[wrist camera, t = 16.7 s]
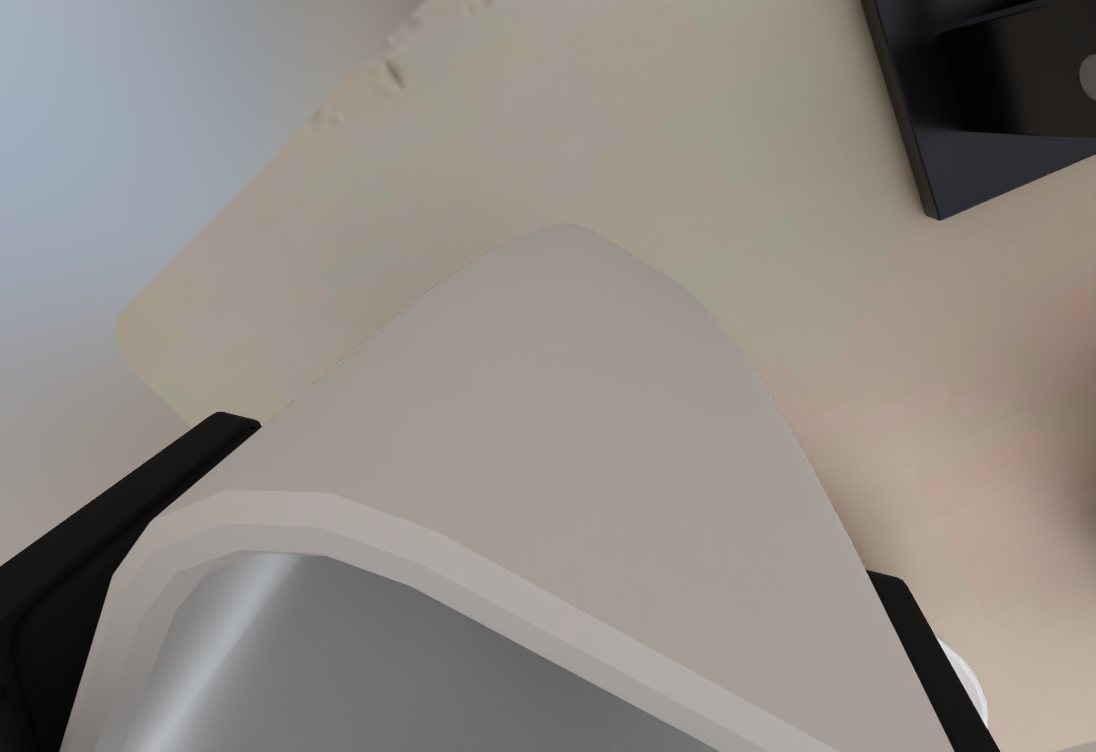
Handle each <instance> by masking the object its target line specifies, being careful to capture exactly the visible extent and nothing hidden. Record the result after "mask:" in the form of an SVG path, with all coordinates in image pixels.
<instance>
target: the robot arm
mask: <svg viewBox="0 0 1096 752" xmlns="http://www.w3.org/2000/svg"><path fill="white" fill-rule="evenodd" d="M261 427H262V426H261V424H260V422H258V421H257V420H254V419H250V418H246V417H242V416H238V415H233V414H229V413H225V412H216V413H214V414H212V415H211V416H209V417H208V418H206V419H205V420H204V421H202V422H201V423H199V424H198V425H197V426H195V427H194V428H193V429H191V430H190V431H188V432H187V433H186V434H184V435H183V436H181V437H180V438H179V439H177V440H176V441H174V442H173V443H172V444H170V445H169V446H167V447H166V448H165V449H163V450H162V451H161V452H159V453H158V454H156V455H155V456H154V457H152V458H151V459H149V460H148V461H147V462H145V463H144V464H142V465H141V466H140V467H138V468H137V469H135V470H134V471H133V472H132V473H130V474H129V475H127V476H126V477H124V478H123V479H122V480H120V481H119V482H118V483H116V484H115V485H113V486H112V487H111V488H109V489H108V490H106V491H105V492H103V493H102V494H101V495H99V496H98V497H96V498H95V499H94V500H92V501H91V502H90V503H88V504H87V505H85V506H84V507H83V508H81V509H80V510H78V511H77V512H76V513H74V514H73V515H71V516H70V517H69V518H67V519H66V520H65V521H63V522H62V523H60V524H59V525H57V526H56V527H55V528H53V529H52V530H51V531H49V532H48V533H46V534H45V535H44V536H42V537H41V538H39V539H38V540H37V541H35V542H34V543H32V544H31V545H30V546H28V547H27V548H25V549H24V550H23V551H22V552H20V553H19V554H17V555H16V556H15V557H13V558H12V559H10V560H9V561H7V562H6V563H5V564H3V565H2V566H0V752H59V751H60V748H61V744H62V741H63V738H64V735H65V731H66V728H67V725H68V721H69V718H70V715H71V711H72V708H73V705H74V701H75V698H76V695H77V691H78V688H79V685H80V682H81V678H82V675H83V672H84V668H85V665H86V662H87V658H88V655H89V652H90V648H91V645H92V642H93V638H94V635H95V632H96V628H97V625H98V622H99V619H100V615H101V612H102V609H103V605H104V602H105V599H106V595H107V592H108V589H109V585H110V582H111V579H112V575H113V574H114V573H115V571H116V570H117V568H118V567H119V565H120V564H121V563H122V561H123V560H124V558H125V557H126V556H127V554H128V553H129V551H130V550H131V549H132V547H133V546H134V544H135V543H136V541H137V540H138V539H139V537H140V536H141V534H142V533H143V532H144V530H145V529H146V527H147V526H148V524H149V523H150V522H151V521H152V520H153V519H154V518H155V517H156V516H158V515H159V514H160V513H161V512H162V511H163V510H165V509H166V508H167V507H168V506H169V505H171V504H172V503H173V502H174V501H175V500H176V499H178V498H179V497H180V496H181V495H182V494H183V493H185V492H186V491H187V490H188V489H189V488H191V487H192V486H193V485H194V484H195V483H196V482H198V481H199V480H200V479H201V478H202V477H204V476H205V475H206V474H207V473H208V472H209V471H211V470H212V469H213V468H214V467H215V466H217V465H218V464H219V463H220V462H221V461H222V460H224V459H225V458H226V457H227V456H228V455H230V454H231V453H232V452H233V451H234V450H235V449H237V448H238V447H239V446H240V445H241V444H243V443H244V442H245V441H246V440H247V439H248V438H250V437H251V436H252V435H253V434H254V433H256V432H257V431H258V430H259V429H260V428H261ZM866 572H867V574H868V576H869V578H870V580H871V582H872V584H873V586H874V588H875V590H876V592H877V594H878V596H879V599H880V601H881V603H882V605H883V607H884V609H885V611H886V613H887V615H888V617H889V619H890V621H891V623H892V625H893V627H894V629H895V631H896V633H897V635H898V637H899V639H900V641H901V643H902V646H903V648H904V650H905V652H906V654H907V656H908V658H909V660H910V662H911V664H912V666H913V668H914V670H915V672H916V674H917V676H918V678H919V680H920V682H921V684H922V686H923V688H924V691H925V693H926V695H927V697H928V699H929V701H930V703H931V705H932V707H933V709H934V711H935V713H936V715H937V717H938V719H939V721H940V723H941V725H942V727H943V729H944V731H945V733H946V735H947V738H948V740H949V742H950V744H951V746H952V748H953V750H954V752H1000V750H999V749H998V747H997V745H996V743H995V741H994V740H993V738H992V736H991V734H990V733H989V731H988V729H987V727H986V725H985V724H984V722H983V720H982V718H981V717H980V715H979V713H978V711H977V709H976V708H975V706H974V704H973V702H972V700H971V699H970V697H969V695H968V693H967V692H966V690H965V688H964V686H963V684H962V683H961V681H960V679H959V677H958V676H957V674H956V672H955V670H954V668H953V667H952V665H951V663H950V661H949V660H948V658H947V656H946V654H945V652H944V651H943V649H942V647H941V645H940V644H939V642H938V640H937V638H936V636H935V635H934V633H933V631H932V629H931V628H930V626H929V624H928V622H927V620H926V619H925V617H924V615H923V613H922V611H921V610H920V608H919V606H918V604H917V603H916V601H915V599H914V597H913V595H912V594H911V592H910V590H909V588H908V587H907V585H906V584H905V583H904V581H903V580H901V579H899V578H897V577H893V576H889V575H885V574H881V573H877V572H873V571H869V570H866Z"/></svg>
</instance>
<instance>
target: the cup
mask: <svg viewBox="0 0 1096 752" xmlns="http://www.w3.org/2000/svg"><path fill="white" fill-rule="evenodd" d="M59 752H954V750H953V748H952V746H951V744H950V742H949V740H948V738H947V735H946V733H945V731H944V729H943V727H942V725H941V723H940V721H939V719H938V717H937V715H936V713H935V711H934V709H933V707H932V705H931V703H930V701H929V699H928V697H927V695H926V693H925V691H924V688H923V686H922V684H921V682H920V680H919V678H918V676H917V674H916V672H915V670H914V668H913V666H912V664H911V662H910V660H909V658H908V656H907V654H906V652H905V650H904V648H903V646H902V643H901V641H900V639H899V637H898V635H897V633H896V631H895V629H894V627H893V625H892V623H891V621H890V619H889V617H888V615H887V613H886V611H885V609H884V607H883V605H882V603H881V601H880V599H879V596H878V594H877V592H876V590H875V588H874V586H873V584H872V582H871V580H870V578H869V576H868V574H867V572H866V570H865V568H864V566H863V564H862V562H861V560H860V558H859V556H858V554H857V552H856V549H855V547H854V545H853V543H852V541H851V539H850V537H849V535H848V534H847V532H846V530H845V528H844V526H843V524H842V522H841V520H840V519H839V517H838V515H837V513H836V511H835V509H834V507H833V506H832V504H831V502H830V500H829V498H828V496H827V494H826V492H825V491H824V489H823V487H822V485H821V483H820V481H819V479H818V477H817V476H816V474H815V472H814V470H813V468H812V466H811V464H810V463H809V461H808V459H807V457H806V455H805V453H804V451H803V449H802V448H801V446H800V444H799V442H798V440H797V438H796V436H795V434H794V433H793V431H792V429H791V428H790V426H789V425H788V423H787V421H786V420H785V418H784V416H783V415H782V413H781V411H780V410H779V408H778V407H777V405H776V403H775V402H774V400H773V398H772V397H771V395H770V394H769V392H768V390H767V389H766V387H765V385H764V384H763V382H762V380H761V379H760V377H759V376H758V374H757V372H756V371H755V369H754V367H753V366H752V364H751V363H750V361H749V360H748V359H747V357H746V356H745V355H744V354H743V352H742V351H741V350H740V348H739V347H738V346H737V344H736V343H735V342H734V341H733V339H732V338H731V337H730V335H729V334H728V333H727V331H726V330H725V329H724V328H723V326H722V325H721V324H720V323H719V322H718V321H717V320H716V319H715V317H714V316H713V315H712V314H711V313H710V312H709V311H708V310H707V309H706V308H705V307H704V306H703V305H702V303H701V302H700V301H699V300H698V299H697V298H696V297H695V296H694V295H692V294H691V293H690V292H689V291H688V290H687V289H686V288H685V287H684V286H682V285H680V284H679V283H677V282H676V281H674V280H672V279H671V278H669V277H667V276H666V275H664V274H663V273H661V272H659V271H658V270H656V269H655V268H653V267H651V266H650V265H648V264H646V263H645V262H643V261H642V260H640V259H638V258H637V257H635V256H634V255H632V254H630V253H629V252H627V251H626V250H624V249H622V248H621V247H619V246H617V245H616V244H614V243H613V242H611V241H609V240H608V239H606V238H605V237H603V236H601V235H600V234H598V233H596V232H595V231H593V230H591V229H588V228H585V227H583V226H580V225H577V224H555V225H551V226H547V227H542V228H538V229H536V230H533V231H531V232H529V233H527V234H524V235H522V236H520V237H518V238H515V239H513V240H511V241H509V242H507V243H505V244H503V245H501V246H499V247H497V248H494V249H492V250H490V251H488V252H486V253H485V254H483V255H482V256H480V257H478V258H477V259H475V260H474V261H472V262H471V263H469V264H468V265H466V266H465V267H463V268H462V269H460V270H458V271H457V272H455V273H454V274H452V275H451V276H449V277H448V278H446V279H445V280H443V281H442V282H440V283H439V284H437V285H436V286H434V287H433V288H432V289H430V290H429V291H428V292H426V293H425V294H424V295H423V296H421V297H420V298H419V299H417V300H416V301H415V302H413V303H412V304H411V305H410V306H408V307H407V308H406V309H404V310H403V311H402V312H400V313H399V314H398V315H397V316H395V317H394V318H393V319H391V320H390V321H389V322H387V323H386V324H385V325H384V326H382V327H381V328H380V329H378V330H377V331H376V332H374V333H373V334H372V335H371V336H369V337H368V338H367V339H365V340H364V341H363V342H362V343H361V344H360V345H358V346H357V347H356V348H355V349H354V350H352V351H351V352H350V353H349V354H348V355H347V356H345V357H344V358H343V359H342V360H341V361H339V362H338V363H337V364H336V365H335V366H334V367H332V368H331V369H330V370H329V371H328V372H326V373H325V374H324V375H323V376H322V377H321V378H319V379H318V380H317V381H316V382H315V383H313V384H312V385H311V386H310V387H309V388H308V389H306V390H305V391H304V392H303V393H302V394H300V395H299V396H298V397H297V398H296V399H295V400H293V401H292V402H291V403H290V404H289V405H287V406H286V407H285V408H284V409H283V410H282V411H280V412H279V413H278V414H277V415H276V416H274V417H273V418H272V419H271V420H270V421H269V422H267V423H266V424H265V425H264V426H263V427H261V428H260V429H259V430H258V431H257V432H256V433H254V434H253V435H252V436H251V437H250V438H248V439H247V440H246V441H245V442H244V443H243V444H241V445H240V446H239V447H238V448H237V449H235V450H234V451H233V452H232V453H231V454H230V455H228V456H227V457H226V458H225V459H224V460H222V461H221V462H220V463H219V464H218V465H217V466H215V467H214V468H213V469H212V470H211V471H209V472H208V473H207V474H206V475H205V476H204V477H202V478H201V479H200V480H199V481H198V482H196V483H195V484H194V485H193V486H192V487H191V488H189V489H188V490H187V491H186V492H185V493H183V494H182V495H181V496H180V497H179V498H178V499H176V500H175V501H174V502H173V503H172V504H171V505H169V506H168V507H167V508H166V509H165V510H163V511H162V512H161V513H160V514H159V515H158V516H156V517H155V518H154V519H153V520H152V521H151V522H150V523H149V524H148V526H147V527H146V529H145V530H144V532H143V533H142V534H141V536H140V537H139V539H138V540H137V541H136V543H135V544H134V546H133V547H132V549H131V550H130V551H129V553H128V554H127V556H126V557H125V558H124V560H123V561H122V563H121V564H120V565H119V567H118V568H117V570H116V571H115V573H114V574H113V575H112V579H111V582H110V585H109V589H108V592H107V595H106V599H105V602H104V605H103V609H102V612H101V615H100V619H99V622H98V625H97V628H96V632H95V635H94V638H93V642H92V645H91V648H90V652H89V655H88V658H87V662H86V665H85V668H84V672H83V675H82V678H81V682H80V685H79V688H78V691H77V695H76V698H75V701H74V705H73V708H72V711H71V715H70V718H69V721H68V725H67V728H66V731H65V735H64V738H63V741H62V744H61V748H60V751H59Z"/></svg>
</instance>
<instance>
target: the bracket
mask: <svg viewBox="0 0 1096 752" xmlns="http://www.w3.org/2000/svg"><path fill="white" fill-rule="evenodd" d="M861 3H862V6H863V9H864V13H865V16H866V19H867V22H868V26H869V29H870V32H871V36H872V39H873V42H874V45H875V49H876V52H877V55H878V59H879V62H880V65H881V69H882V72H883V75H884V78H885V82H886V85H887V88H888V92H889V95H890V98H891V101H892V105H893V108H894V111H895V115H896V118H897V121H898V124H899V128H900V131H901V134H902V138H903V141H904V144H905V147H906V151H907V154H908V157H909V161H910V164H911V167H912V170H913V174H914V177H915V180H916V184H917V187H918V190H919V194H920V197H921V200H922V203H923V207H924V210H925V213H926V216H928V217H931V218H933V219H936V220H939V221H941V220H943V219H946V218H948V217H950V216H953V215H955V214H957V213H960V212H962V211H964V210H967V209H969V208H971V207H974V206H976V205H978V204H981V203H983V202H985V201H988V200H990V199H992V198H995V197H997V196H999V195H1002V194H1004V193H1006V192H1009V191H1011V190H1013V189H1016V188H1018V187H1020V186H1023V185H1025V184H1027V183H1030V182H1032V181H1034V180H1037V179H1039V178H1041V177H1044V176H1046V175H1048V174H1051V173H1053V172H1055V171H1058V170H1060V169H1062V168H1065V167H1067V166H1069V165H1072V164H1074V163H1076V162H1078V161H1081V160H1083V159H1085V158H1088V157H1090V156H1092V155H1095V154H1096V0H861Z"/></svg>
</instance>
